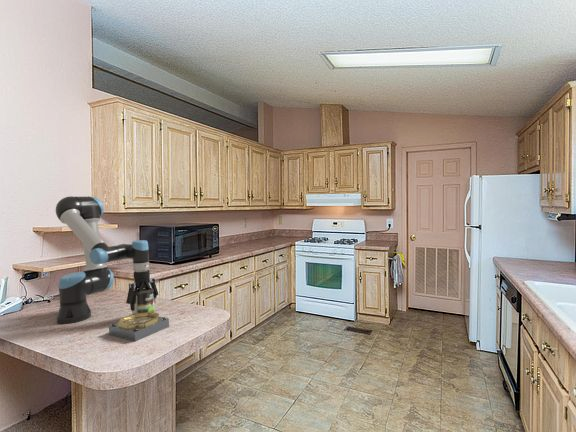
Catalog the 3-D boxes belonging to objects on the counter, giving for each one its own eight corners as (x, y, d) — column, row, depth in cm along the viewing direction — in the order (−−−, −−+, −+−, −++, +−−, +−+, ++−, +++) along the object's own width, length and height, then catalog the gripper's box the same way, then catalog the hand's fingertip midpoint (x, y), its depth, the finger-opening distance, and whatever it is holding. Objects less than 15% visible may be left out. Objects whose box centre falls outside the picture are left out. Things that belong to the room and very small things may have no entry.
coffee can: (158, 314, 172) (157, 288, 172) (146, 321, 162) (145, 293, 162) (141, 313, 174) (140, 287, 174) (128, 320, 164) (127, 293, 164)
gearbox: (109, 334, 146) (108, 321, 146) (143, 321, 162) (143, 309, 162) (135, 341, 138) (134, 327, 138) (169, 326, 154) (168, 314, 153)
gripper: (126, 275, 156) (128, 321, 156) (164, 266, 175) (166, 307, 176) (116, 274, 159) (118, 319, 160) (154, 266, 179) (157, 305, 180)
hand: (143, 313), depth 168 cm, fingers closed on coffee can, 10 cm apart
